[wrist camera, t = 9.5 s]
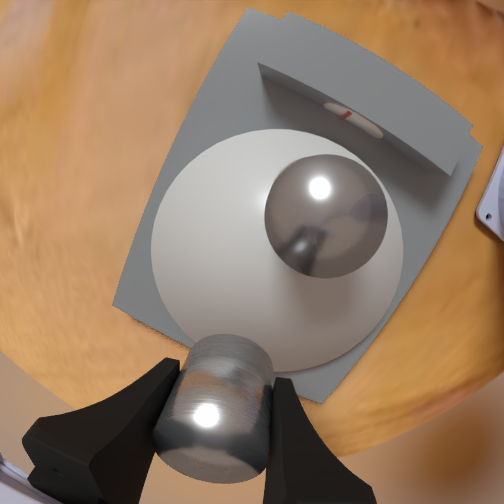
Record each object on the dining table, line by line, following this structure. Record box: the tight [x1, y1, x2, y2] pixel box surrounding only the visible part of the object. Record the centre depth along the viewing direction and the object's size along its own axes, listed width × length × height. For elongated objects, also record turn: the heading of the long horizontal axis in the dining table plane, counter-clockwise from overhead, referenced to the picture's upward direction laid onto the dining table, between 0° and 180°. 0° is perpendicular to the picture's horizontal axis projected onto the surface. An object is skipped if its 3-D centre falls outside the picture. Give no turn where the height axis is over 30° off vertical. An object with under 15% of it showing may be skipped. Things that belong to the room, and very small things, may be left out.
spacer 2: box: [264, 154, 388, 278], centre depth 12 cm, size 4×4×5 cm
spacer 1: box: [151, 334, 274, 484], centre depth 11 cm, size 4×4×5 cm
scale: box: [112, 8, 483, 404], centre depth 16 cm, size 15×19×4 cm
